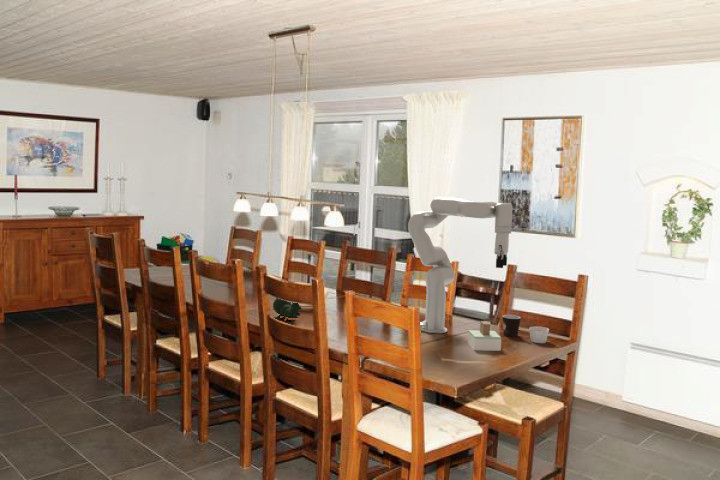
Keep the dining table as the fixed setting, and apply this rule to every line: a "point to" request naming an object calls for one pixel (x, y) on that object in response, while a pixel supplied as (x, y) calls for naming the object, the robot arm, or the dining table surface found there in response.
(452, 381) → the dining table surface
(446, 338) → the dining table surface
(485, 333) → the lid
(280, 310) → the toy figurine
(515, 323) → the coffee mug
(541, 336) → the light grey bowl
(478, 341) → the box
